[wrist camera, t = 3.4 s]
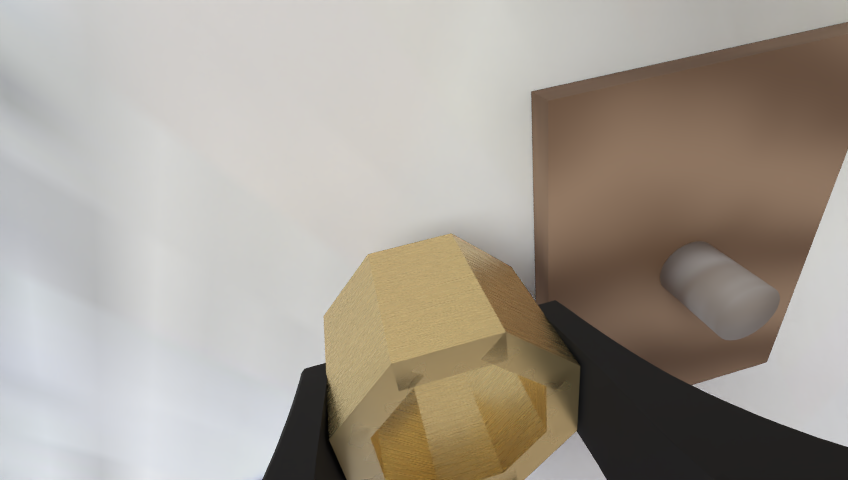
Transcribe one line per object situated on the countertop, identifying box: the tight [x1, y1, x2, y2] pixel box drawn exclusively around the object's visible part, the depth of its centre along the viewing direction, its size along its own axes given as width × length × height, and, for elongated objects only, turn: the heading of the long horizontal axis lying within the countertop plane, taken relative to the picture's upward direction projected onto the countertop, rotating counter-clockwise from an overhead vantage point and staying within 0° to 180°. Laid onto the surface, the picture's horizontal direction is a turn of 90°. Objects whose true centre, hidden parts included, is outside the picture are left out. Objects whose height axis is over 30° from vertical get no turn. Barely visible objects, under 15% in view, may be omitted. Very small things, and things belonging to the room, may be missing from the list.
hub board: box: [531, 22, 848, 385], centre depth 17 cm, size 16×12×4 cm
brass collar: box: [324, 234, 580, 480], centre depth 12 cm, size 6×6×4 cm
